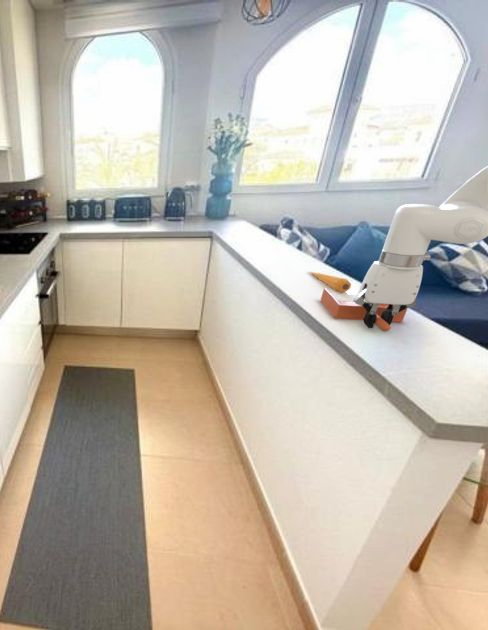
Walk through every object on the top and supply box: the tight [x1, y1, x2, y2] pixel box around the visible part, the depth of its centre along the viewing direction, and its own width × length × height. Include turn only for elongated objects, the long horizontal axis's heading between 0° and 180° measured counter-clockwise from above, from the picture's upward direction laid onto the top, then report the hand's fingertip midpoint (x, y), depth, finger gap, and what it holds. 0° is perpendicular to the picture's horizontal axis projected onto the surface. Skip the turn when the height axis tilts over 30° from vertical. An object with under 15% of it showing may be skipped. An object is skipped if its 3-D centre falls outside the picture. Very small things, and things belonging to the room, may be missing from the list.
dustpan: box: [320, 287, 408, 332], centre depth 94 cm, size 22×15×4 cm
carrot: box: [310, 271, 352, 293], centre depth 118 cm, size 20×4×4 cm, turn 175°
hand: (375, 326), depth 90 cm, fingers closed
